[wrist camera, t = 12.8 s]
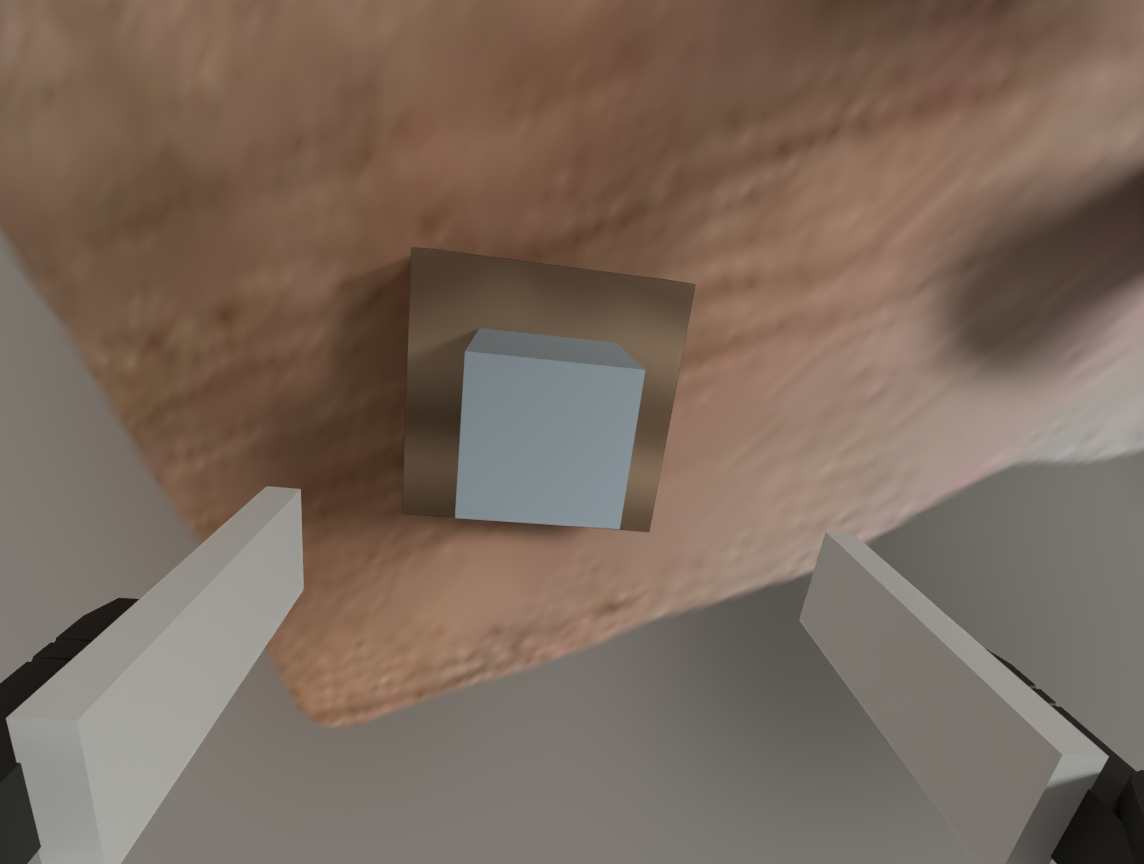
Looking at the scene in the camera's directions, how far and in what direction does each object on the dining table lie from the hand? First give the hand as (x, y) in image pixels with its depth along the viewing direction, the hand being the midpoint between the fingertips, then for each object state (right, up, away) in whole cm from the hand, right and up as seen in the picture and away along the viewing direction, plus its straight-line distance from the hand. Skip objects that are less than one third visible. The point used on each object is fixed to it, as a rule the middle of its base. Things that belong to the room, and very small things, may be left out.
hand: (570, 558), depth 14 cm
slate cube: (-2, +5, +15) cm, 16 cm away
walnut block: (-2, +6, +20) cm, 21 cm away
